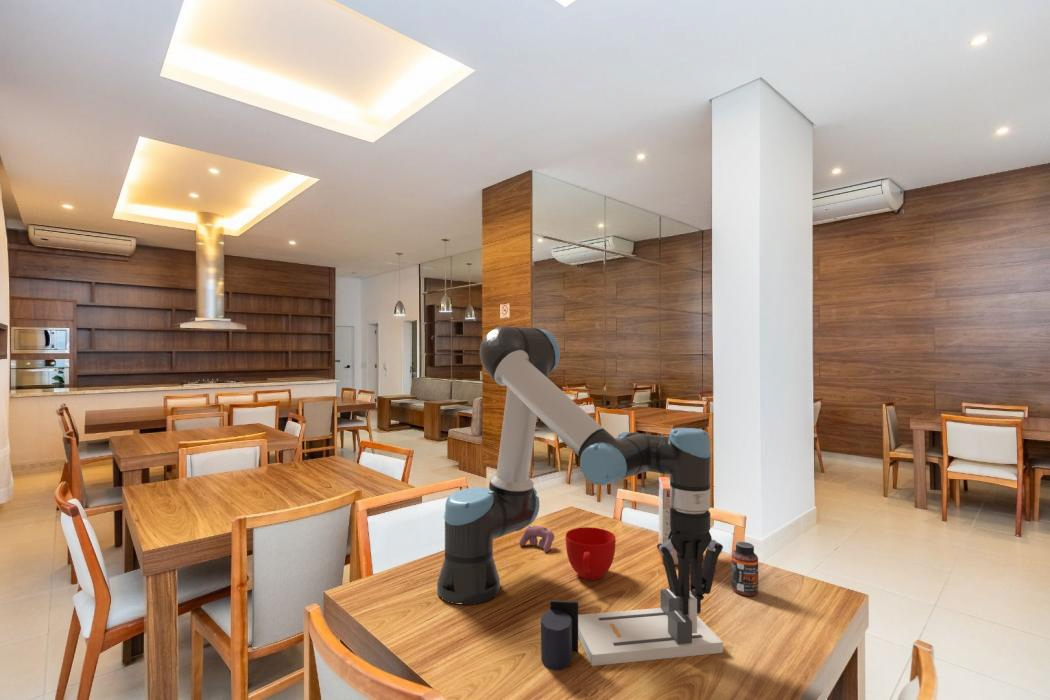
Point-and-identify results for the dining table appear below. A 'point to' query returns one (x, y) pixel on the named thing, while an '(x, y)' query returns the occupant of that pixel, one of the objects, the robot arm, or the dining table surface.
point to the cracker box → (665, 514)
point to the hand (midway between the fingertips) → (689, 629)
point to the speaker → (559, 634)
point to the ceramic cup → (590, 551)
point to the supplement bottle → (744, 570)
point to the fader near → (679, 627)
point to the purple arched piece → (538, 531)
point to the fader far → (669, 601)
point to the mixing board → (639, 637)
